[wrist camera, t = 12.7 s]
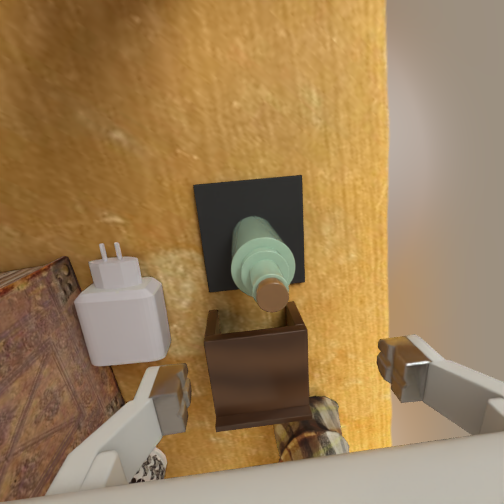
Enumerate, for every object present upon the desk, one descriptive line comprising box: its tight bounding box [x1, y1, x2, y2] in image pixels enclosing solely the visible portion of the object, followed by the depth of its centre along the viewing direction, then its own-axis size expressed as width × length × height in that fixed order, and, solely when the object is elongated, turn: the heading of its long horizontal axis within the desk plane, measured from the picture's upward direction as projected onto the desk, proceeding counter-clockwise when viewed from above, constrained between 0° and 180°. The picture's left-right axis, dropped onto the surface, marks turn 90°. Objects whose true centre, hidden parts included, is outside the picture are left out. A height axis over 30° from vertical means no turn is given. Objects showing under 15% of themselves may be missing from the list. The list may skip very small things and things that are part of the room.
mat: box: [193, 175, 305, 292], centre depth 33 cm, size 14×13×1 cm
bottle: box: [231, 216, 295, 312], centre depth 25 cm, size 6×6×16 cm
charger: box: [74, 242, 171, 366], centre depth 32 cm, size 5×9×15 cm
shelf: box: [204, 301, 313, 432], centre depth 34 cm, size 12×12×8 cm
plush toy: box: [273, 396, 349, 463], centre depth 32 cm, size 14×14×25 cm
